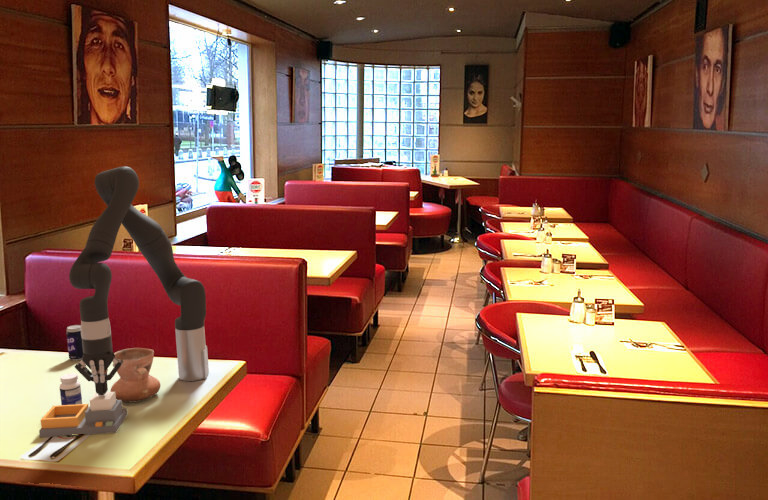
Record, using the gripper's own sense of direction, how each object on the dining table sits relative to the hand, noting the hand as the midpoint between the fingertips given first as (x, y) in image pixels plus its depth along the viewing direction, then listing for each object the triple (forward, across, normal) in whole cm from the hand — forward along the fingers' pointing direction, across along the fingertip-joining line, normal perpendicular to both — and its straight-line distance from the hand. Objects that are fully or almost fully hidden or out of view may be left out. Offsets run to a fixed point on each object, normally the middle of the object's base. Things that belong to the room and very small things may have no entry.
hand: (102, 394), depth 197 cm
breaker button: (+4, 0, 0) cm, 4 cm away
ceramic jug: (+9, -4, -20) cm, 22 cm away
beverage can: (+9, +26, -60) cm, 66 cm away
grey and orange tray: (+9, +5, 0) cm, 10 cm away
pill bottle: (+9, +13, -14) cm, 21 cm away
